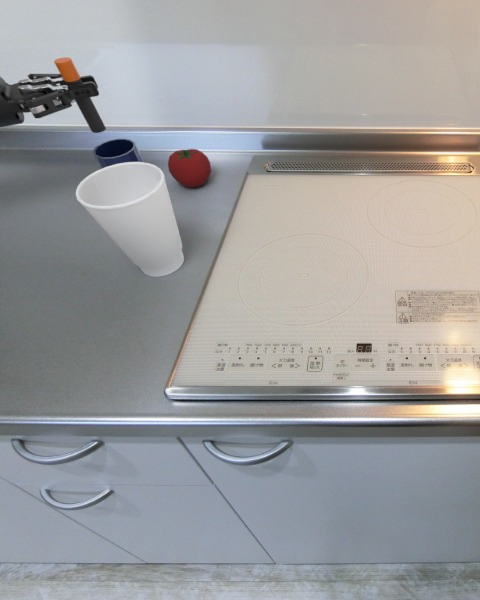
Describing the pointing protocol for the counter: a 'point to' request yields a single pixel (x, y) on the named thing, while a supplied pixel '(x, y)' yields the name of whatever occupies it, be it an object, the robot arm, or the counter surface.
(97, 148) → the pen pot
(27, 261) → the counter surface
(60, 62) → the marker
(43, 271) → the counter surface
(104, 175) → the cup
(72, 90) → the robot arm
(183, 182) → the tomato
